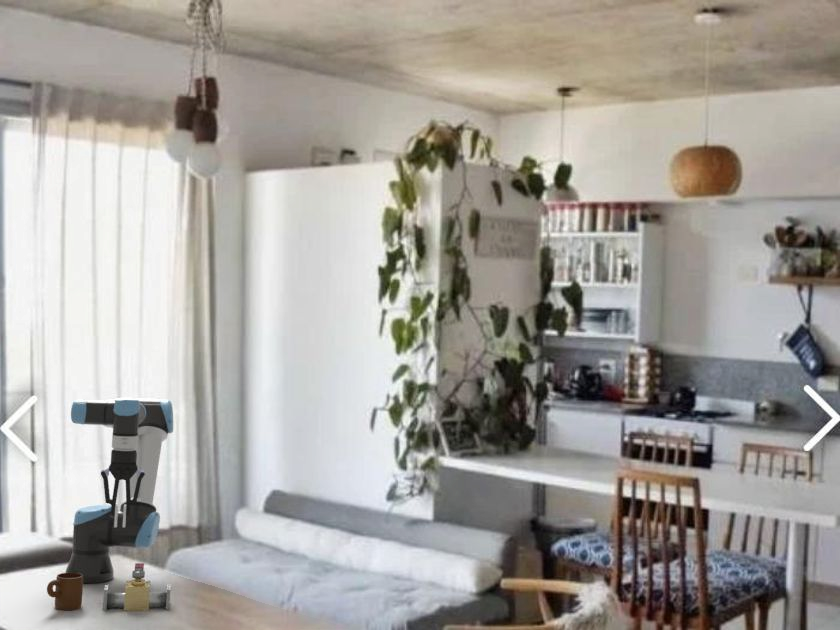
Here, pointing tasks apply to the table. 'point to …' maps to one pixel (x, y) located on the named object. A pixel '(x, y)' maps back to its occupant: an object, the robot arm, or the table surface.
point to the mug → (67, 591)
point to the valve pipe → (136, 597)
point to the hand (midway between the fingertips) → (119, 526)
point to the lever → (138, 571)
